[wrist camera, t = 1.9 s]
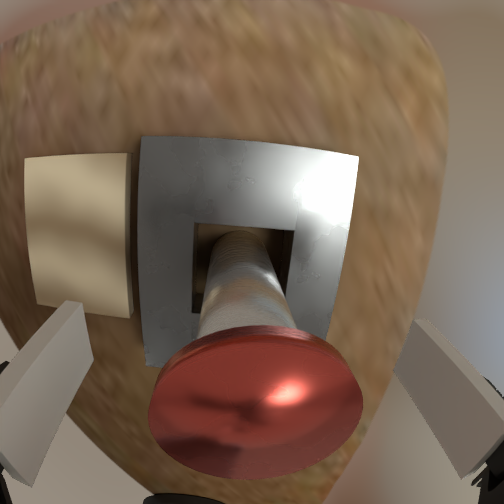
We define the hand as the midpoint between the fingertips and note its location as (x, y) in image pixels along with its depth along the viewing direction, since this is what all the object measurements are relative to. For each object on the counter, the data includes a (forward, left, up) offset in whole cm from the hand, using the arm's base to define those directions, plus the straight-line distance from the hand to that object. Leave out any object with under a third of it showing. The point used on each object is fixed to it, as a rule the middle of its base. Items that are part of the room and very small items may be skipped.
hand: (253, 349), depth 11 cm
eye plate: (0, 0, -11) cm, 11 cm away
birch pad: (+1, +13, -11) cm, 17 cm away
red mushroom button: (0, 0, -11) cm, 11 cm away
